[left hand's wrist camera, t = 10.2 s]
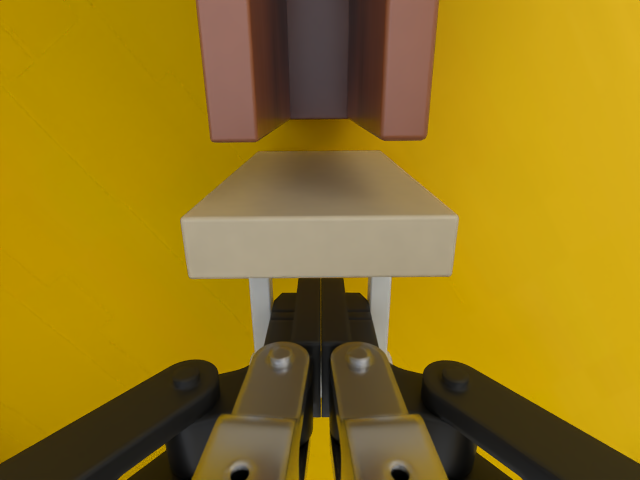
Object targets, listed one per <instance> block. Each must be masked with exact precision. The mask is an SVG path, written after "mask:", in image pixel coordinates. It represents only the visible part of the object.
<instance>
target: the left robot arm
mask: <svg viewBox="0 0 640 480" xmlns="http://www.w3.org/2000/svg"><path fill="white" fill-rule="evenodd" d="M321 387H322V417H329V418H330V452H331V461H332V469H333V477H334V480H513V479H511V478H510V477H509V476H507V475H506V474H505V473H503V472H502V471H501V470H499V469H498V468H497V467H495V466H494V465H493V464H491V463H490V462H489V461H487V460H486V459H485V458H483V457H482V456H481V455H479V454H478V453H477V452H476V449H477V445H478V446H479V447H480V448H482V449H483V450H484V451H486V452H487V453H489V454H490V455H491V456H493V457H494V458H495V459H497V460H498V461H499V462H501V463H502V464H504V465H505V466H506V467H508V468H509V469H510V470H512V471H513V472H515V473H516V474H517V475H518V476H520V477H521V478H522V479H523V480H640V464H639V463H637V462H635V461H634V460H632V459H630V458H629V457H627V456H625V455H623V454H622V453H620V452H618V451H616V450H615V449H613V448H611V447H609V446H608V445H606V444H604V443H602V442H601V441H599V440H597V439H595V438H594V437H592V436H590V435H588V434H587V433H585V432H583V431H581V430H580V429H578V428H576V427H574V426H573V425H571V424H569V423H568V422H566V421H564V420H562V419H561V418H559V417H557V416H555V415H554V414H552V413H550V412H548V411H547V410H545V409H543V408H541V407H540V406H538V405H536V404H534V403H533V402H531V401H529V400H527V399H526V398H524V397H522V396H520V395H519V394H517V393H515V392H513V391H512V390H510V389H508V388H506V387H505V386H503V385H501V384H500V383H498V382H496V381H494V380H493V379H491V378H489V377H487V376H486V375H484V374H482V373H480V372H479V371H477V370H475V369H473V368H472V367H470V366H468V365H465V364H463V363H459V362H455V361H448V360H443V361H436V362H433V363H431V364H429V365H428V366H427V367H426V368H425V369H424V372H423V374H420V373H416V372H411V371H407V370H404V369H401V368H398V367H396V366H394V365H392V364H391V363H389V361H388V358H387V356H386V354H385V353H384V352H383V351H382V350H381V349H380V348H379V345H378V341H377V337H376V333H375V329H374V324H373V320H372V316H371V312H370V308H369V303H368V301H367V300H366V299H365V298H364V297H363V296H362V295H361V294H360V293H345V288H344V281H343V278H299V280H298V288H297V293H282V294H281V295H280V296H279V297H278V298H277V299H276V300H275V301H274V303H273V308H272V312H271V316H270V321H269V325H268V330H267V334H266V338H265V343H264V346H263V347H262V348H260V349H259V350H258V351H257V352H256V353H255V354H254V356H253V358H252V361H251V363H250V365H249V366H247V367H245V368H242V369H239V370H236V371H232V372H227V373H223V374H219V375H218V370H217V368H216V367H215V366H214V365H213V364H212V363H210V362H208V361H205V360H187V361H183V362H179V363H177V364H174V365H172V366H170V367H168V368H167V369H165V370H163V371H161V372H160V373H158V374H156V375H154V376H153V377H151V378H149V379H147V380H146V381H144V382H142V383H140V384H139V385H137V386H135V387H133V388H132V389H130V390H128V391H126V392H125V393H123V394H121V395H119V396H118V397H116V398H114V399H113V400H111V401H109V402H107V403H106V404H104V405H102V406H100V407H99V408H97V409H95V410H93V411H92V412H90V413H88V414H86V415H85V416H83V417H81V418H79V419H78V420H76V421H74V422H72V423H71V424H69V425H67V426H65V427H64V428H62V429H60V430H59V431H57V432H55V433H53V434H52V435H50V436H48V437H46V438H45V439H43V440H41V441H39V442H38V443H36V444H34V445H32V446H31V447H29V448H27V449H25V450H24V451H22V452H20V453H18V454H17V455H15V456H13V457H11V458H10V459H8V460H6V461H4V462H3V463H1V464H0V480H118V479H119V478H120V477H121V476H122V475H123V474H124V473H125V472H127V471H128V470H130V469H131V468H132V467H134V466H135V465H136V464H138V463H139V462H140V461H142V460H143V459H145V458H146V457H147V456H149V455H150V454H151V453H153V452H154V451H156V450H157V449H158V448H160V447H161V446H162V445H164V444H165V445H166V451H165V452H163V453H162V454H161V455H159V456H158V457H157V458H155V459H154V460H153V461H151V462H150V463H149V464H147V465H146V466H145V467H143V468H142V469H141V470H139V471H138V472H137V473H135V474H134V475H132V476H131V477H130V478H128V479H127V480H306V477H307V469H308V460H309V452H310V436H311V434H312V430H313V417H321Z"/></svg>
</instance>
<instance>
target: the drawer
mask: <svg viewBox="0 0 640 480" xmlns="http://www.w3.org/2000/svg"><path fill="white" fill-rule="evenodd" d="M438 5H439V0H196V7H197V17H198V26H199V36H200V45H201V55H202V64H203V74H204V83H205V93H206V102H207V112H208V121H209V131H210V139H211V141H212V142H257V141H258V140H260V139H261V138H263V137H264V136H266V135H267V134H269V133H270V132H272V131H273V130H275V129H276V128H278V127H279V126H281V125H282V124H283V123H285V122H286V121H288V120H289V119H350V120H351V121H353V122H355V123H356V124H358V125H359V126H361V127H362V128H364V129H366V130H367V131H369V132H370V133H372V134H373V135H375V136H377V137H378V138H380V139H382V140H384V141H416V140H423V139H425V138H426V136H427V132H428V120H429V109H430V97H431V86H432V74H433V63H434V51H435V40H436V28H437V17H438ZM458 221H459V218H458V215H457V214H456V213H454V212H453V211H452V210H451V209H450V208H448V207H447V206H446V205H445V204H444V203H442V202H441V201H440V200H439V199H438V198H436V197H435V196H434V195H433V194H432V193H430V192H429V191H428V190H427V189H426V188H424V187H423V186H422V185H421V184H420V183H418V182H417V181H416V180H415V179H414V178H412V177H411V176H410V175H409V174H408V173H406V172H405V171H404V170H403V169H401V168H400V167H399V166H398V165H397V164H395V163H394V162H393V161H392V160H391V159H389V158H388V157H387V156H386V155H385V154H383V153H382V152H381V151H268V152H257V153H256V154H255V155H254V156H253V157H251V158H250V159H249V160H248V161H247V162H246V163H244V164H243V165H242V166H241V167H240V168H239V169H237V170H236V171H235V172H234V173H233V174H232V175H230V176H229V177H228V178H227V179H226V180H225V181H224V182H222V183H221V184H220V185H219V186H218V187H217V188H215V189H214V190H213V191H212V192H211V193H210V194H208V195H207V196H206V197H205V198H204V199H203V200H201V201H200V202H199V203H198V204H197V205H196V206H194V207H193V208H192V209H191V210H190V211H189V212H187V213H186V214H185V215H184V216H183V217H182V218H181V227H182V234H183V241H184V249H185V256H186V263H187V270H188V276H189V278H191V279H222V278H249V286H250V298H251V311H252V323H253V335H254V348H255V352H254V353H253V354H252V356H251V360H250V363H251V361H252V358H253V356H254V354H255V353H256V352H257V351H258V350H259V349H260V348H262V347H263V346H264V343H265V338H266V334H267V330H268V325H269V321H270V316H271V312H272V308H273V288H272V278H336V277H368V298H367V301H368V303H369V308H370V312H371V316H372V320H373V324H374V329H375V333H376V337H377V341H378V345H379V348H380V349H381V350H382V351H383V352H384V353H385V354H386V356H387V358H388V361H389V363H391V364H392V359H391V356H390V354H389V352H388V351H387V341H388V325H389V309H390V294H391V278H392V277H448V276H451V274H452V269H453V261H454V253H455V245H456V237H457V229H458ZM321 398H322V387H321Z"/></svg>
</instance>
